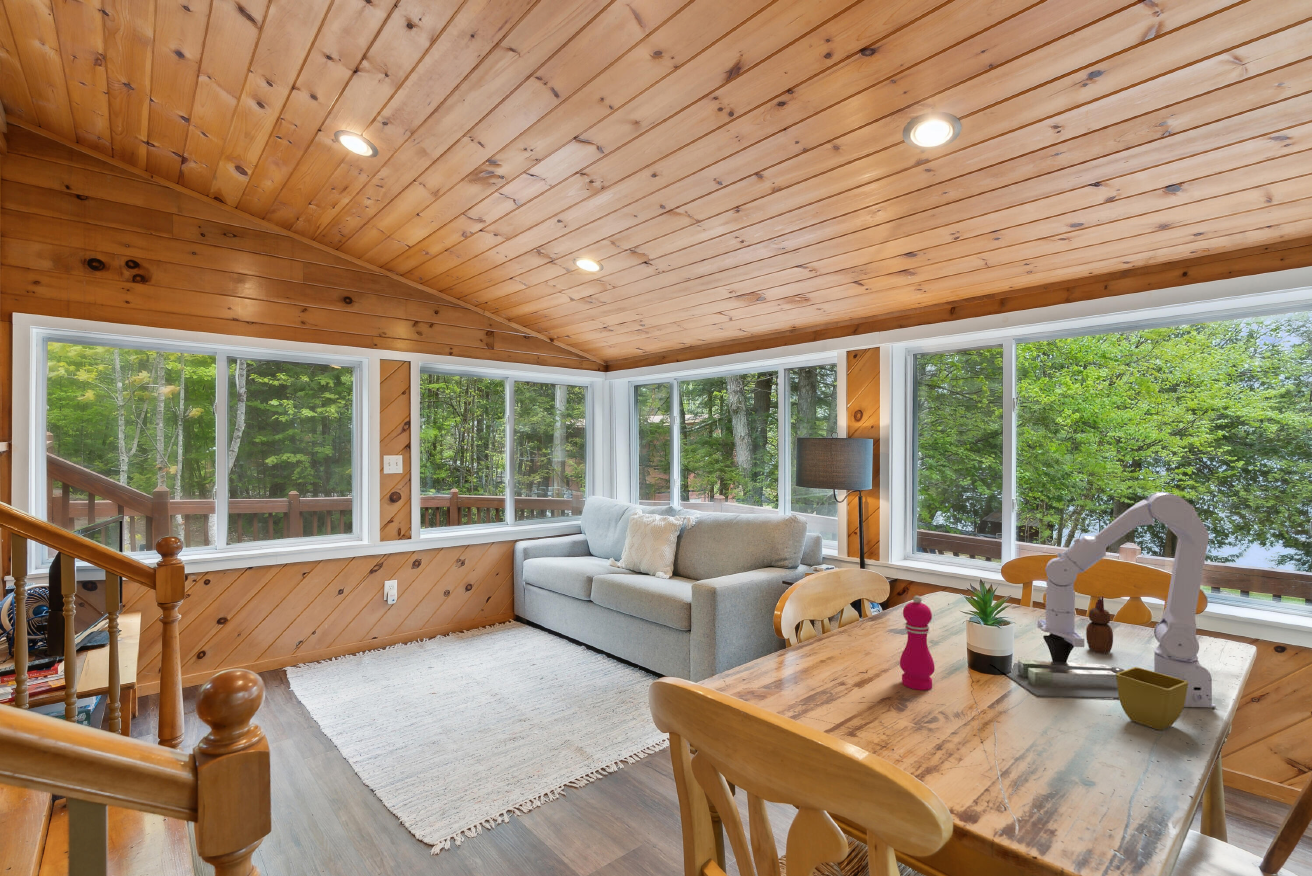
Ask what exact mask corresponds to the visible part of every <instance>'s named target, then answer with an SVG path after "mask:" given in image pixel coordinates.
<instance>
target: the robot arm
mask: <svg viewBox="0 0 1312 876" xmlns="http://www.w3.org/2000/svg"><path fill="white" fill-rule="evenodd" d="M1154 519H1156V520H1158V521H1159V522H1160V523H1162V524H1164V525H1165V526H1166V527H1167V528H1168V529H1169V530H1170V531H1171V532H1172V533H1173V534H1174V535H1175V536H1176V537H1177V542H1176V547H1175V548H1176V549H1175V554H1174V559H1173V565H1172V566H1173V567H1172V570H1171V577H1170V581H1169V588H1168V594H1167V600H1166V606H1165V609H1164V610H1163V612H1162V616H1161V619H1160V621H1159V622H1157V624H1156V625H1155V626H1154V629H1153V635H1154V638H1155V639H1156V641H1157V642H1158V643H1159V644H1158V646H1157V647H1155V648H1154V651H1153V652H1154V657H1153V659H1154V660H1153V661H1154V664H1153V666H1154V667H1153V668H1154V671H1153V672H1157V673H1160V674H1164V675H1167V676H1171V677H1175V678H1178V679H1181V680H1184V681H1187V682H1188V687H1187V693H1186V698H1185V704H1184V707H1183V708H1187V707H1188V708H1213V707H1214V708H1217V705H1216V704H1214V703H1213V697H1212V696H1213V692H1212V691H1213V686H1212V685H1213V680H1212V675H1211V673H1210V672H1209V670H1208V669H1207V668H1205V666H1202V664H1201V663H1200V662H1199V656H1198V654H1199V651H1200V643H1199V641H1198V638H1197V637H1196V636H1197V623H1196V620H1197V619H1196V613H1197V612H1196V611H1197V607H1198V602H1199V595H1200V590H1201V584H1202V581H1203V579H1202V578H1203V572H1204V567H1205V563H1206V562H1205V561H1206V556H1207V552H1208V551H1207V550H1208V545H1209V544H1208V543H1209V540H1210V533H1209V531H1208V529H1207V528H1206V526H1205V525H1204V523H1203V521H1202V520H1201V518H1200V517H1199V515H1198V513H1197V511H1196V509H1195V507H1194V506H1193V505H1192V504H1190V503H1189V502H1188V501H1187V500H1186V499H1184V498H1183V497H1181V496H1179V495H1176V494H1172V493H1170V492H1167V491H1157V492H1153V493H1151V494H1150V495H1148V497H1147V498H1146V499H1142V500H1140V501H1139V502H1137V503H1135V504H1134V505H1133V506H1131V507H1129V508H1128V509H1126V510H1125V511H1124V512H1123V513H1121V514H1120V515H1119V516H1118V517H1117V518H1115V519H1114V520H1113V521H1111V523H1109V524H1108V525H1106V527H1104V528H1103V529H1101V531H1099V532H1098V533H1097V534H1095V535H1094V536H1089V535H1085V536H1084V535H1083V536H1082V537H1081V538H1080V537H1076V538H1075V539H1073V544H1072V545H1071V546H1069V547H1068V548H1066V549H1065V550H1064V551H1062V552H1061V551H1059V552H1057V553H1056V556H1057V557H1054V558H1052V559H1050V560H1048V562H1047V564H1046V567H1045V568H1044V569H1045V573H1046V576H1047V580H1046V589H1045V619H1037V628H1038V629H1039V630H1040V631H1042V632H1043V633H1049V634H1048V635H1047V634H1045V635H1043V640H1044V641H1045V644H1046V646H1047V648H1048V650H1049V653H1050V656H1051V657H1050V658H1051V660H1052V661H1051V662H1067V663H1068V659H1069V656H1070V654H1071V652H1072V651H1073V649H1074V648H1085V638H1084V637H1082V636H1081V635H1080V634H1079V633H1078V632H1077V631H1076V630H1075V623H1076V621H1075V620H1076V618H1075V617H1076V615H1075V614H1076V608H1075V607H1076V591H1075V589H1074V587H1075V586H1074V585H1075V582H1076V580H1077V577H1078V574H1081V573H1084V572H1086V571H1087V570H1088V569H1090V568H1092V566H1094V565H1095V564H1097V563H1098V562H1099V561H1100V560H1102V559H1103V558H1105V557H1106V556H1107V547H1109V546H1111V545H1112V544H1113V543H1115V542H1116V541H1118V540H1119V539H1121V538H1122V537H1124V536H1125V535H1126V534H1128V533H1130V532H1132V530H1134V529H1135V528H1138V527H1141V526H1149V525H1155V524H1156V522H1155V520H1154ZM1214 708H1213V709H1214Z"/></svg>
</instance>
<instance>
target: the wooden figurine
mask: <svg viewBox="0 0 1312 876" xmlns="http://www.w3.org/2000/svg"><path fill="white" fill-rule="evenodd" d="M1104 604H1105V603H1104V596H1103V595H1102V596H1099V598H1098V599H1097V601H1096V602H1095V607H1094V608H1091V609H1089V613H1088V618H1089V620H1090V622H1089V623H1088V624H1087V625H1086V630H1085V631H1086V632H1085V635H1086V636H1085V637H1086V644H1087V646H1088V649H1089V650H1091V651H1092V652H1094V653H1098V654H1109V653H1110V652H1111V651H1112V649H1113V644H1114V632H1113V628H1112V627H1111V625H1109V623H1110V622H1111V614H1110V612H1109V610H1106V609H1105V605H1104Z"/></svg>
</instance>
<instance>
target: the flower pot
mask: <svg viewBox="0 0 1312 876" xmlns="http://www.w3.org/2000/svg"><path fill="white" fill-rule="evenodd" d="M1124 670H1125V669H1124ZM1116 679H1117V687H1118V695H1119V699H1118V700H1119V703H1120V705H1121V707H1122V710H1123V711H1124V713H1125V714H1126V716H1127V717H1128V719H1129V720H1130V721H1132V722H1135V723H1138V724H1141V725H1144V726H1145V727H1149V728H1151V729H1154V730H1157V731H1163V730H1165V729H1167V728H1169V727H1171V726H1172V725H1173V724H1174V723H1175V722H1176V721H1177V720H1178V719H1179V718H1180V716H1181V715H1182V712H1183V710H1184V708H1185V707H1184V704H1185V698H1186V693H1187V687H1188V682H1187V681H1184V680H1181V679H1178V678H1175V677H1171V676H1167V675H1164V674H1160V673H1157V672H1154V671H1153V670H1149V669H1145V668H1142V667H1137V666H1135V667H1131V668H1129V669H1126V670H1125V671H1122V672H1119V673H1117V674H1116Z"/></svg>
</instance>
